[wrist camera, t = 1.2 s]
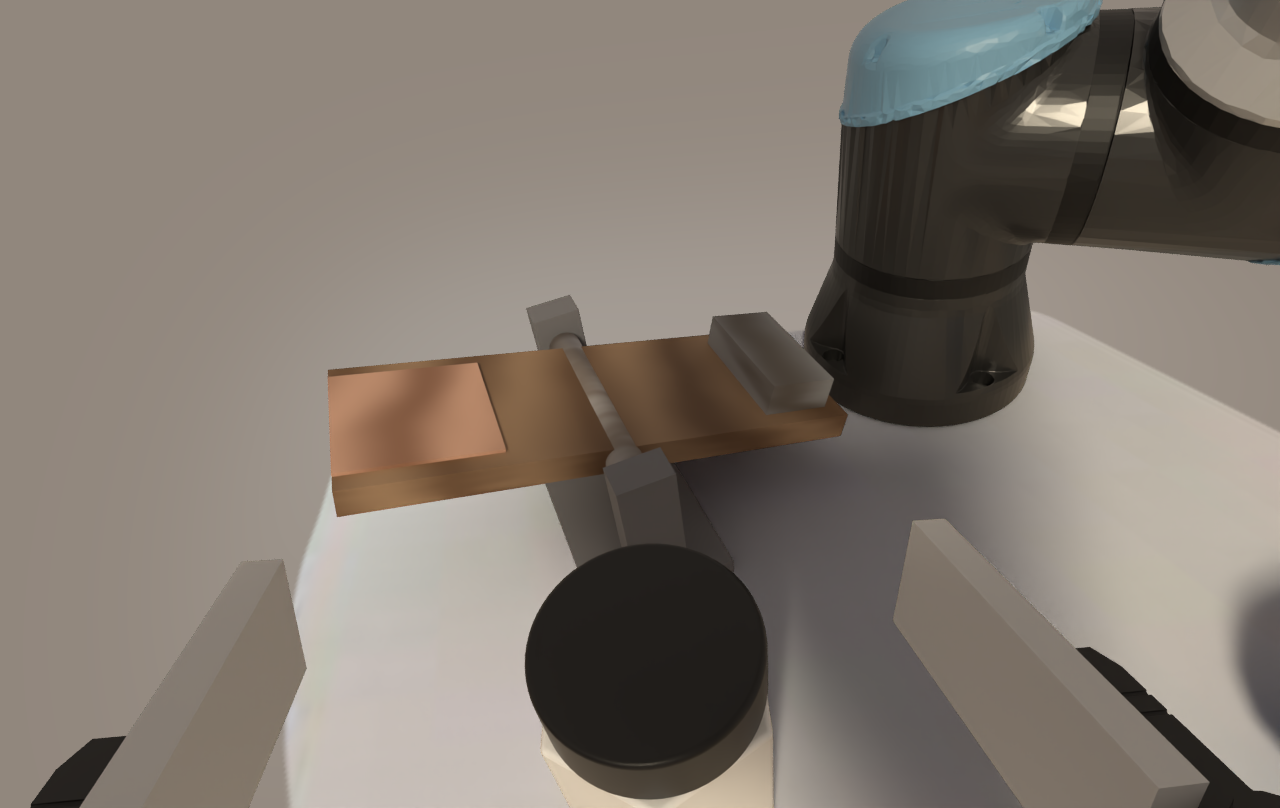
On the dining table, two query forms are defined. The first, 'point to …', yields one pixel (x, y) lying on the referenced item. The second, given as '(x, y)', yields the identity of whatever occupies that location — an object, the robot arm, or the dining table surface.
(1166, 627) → the dining table surface
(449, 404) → the beam
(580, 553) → the pivot stand
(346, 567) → the dining table surface
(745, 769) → the jar
